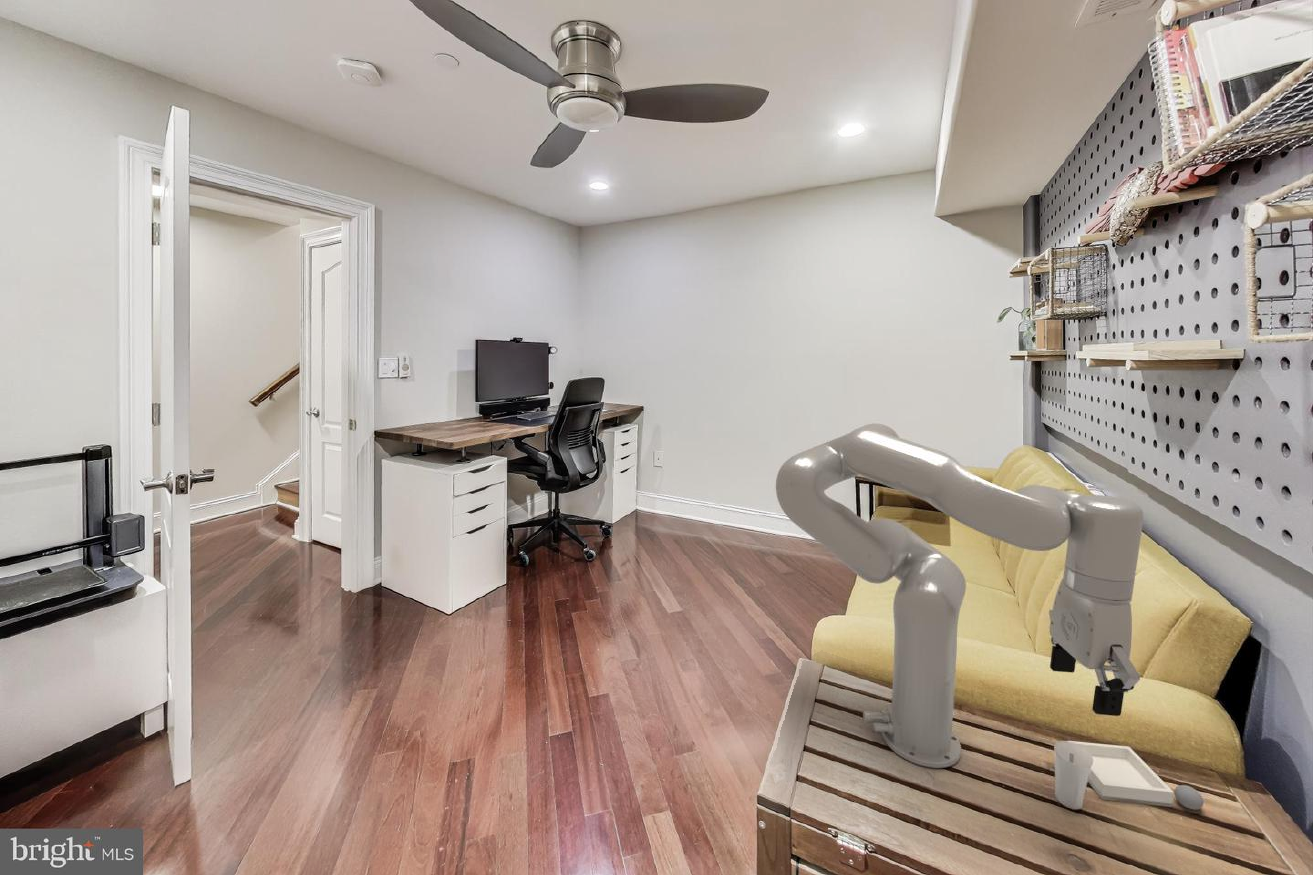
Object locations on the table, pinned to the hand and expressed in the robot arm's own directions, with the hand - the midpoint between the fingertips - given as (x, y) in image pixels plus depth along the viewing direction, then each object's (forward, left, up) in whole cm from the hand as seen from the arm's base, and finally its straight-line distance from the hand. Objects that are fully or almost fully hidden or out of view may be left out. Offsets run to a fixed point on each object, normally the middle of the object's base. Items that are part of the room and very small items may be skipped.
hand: (1082, 690), depth 75 cm
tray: (+9, +5, -18) cm, 21 cm away
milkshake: (-1, -1, -19) cm, 19 cm away
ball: (+16, +1, -18) cm, 25 cm away
